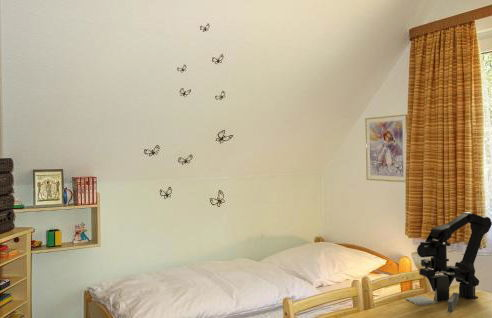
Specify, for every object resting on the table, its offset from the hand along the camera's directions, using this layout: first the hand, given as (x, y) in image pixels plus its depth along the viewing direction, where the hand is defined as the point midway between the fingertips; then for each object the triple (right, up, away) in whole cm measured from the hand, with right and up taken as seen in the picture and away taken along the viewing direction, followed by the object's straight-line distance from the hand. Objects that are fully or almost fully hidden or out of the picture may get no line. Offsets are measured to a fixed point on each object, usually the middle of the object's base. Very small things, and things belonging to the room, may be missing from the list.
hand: (440, 290), depth 191 cm
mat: (-9, -5, -2) cm, 11 cm away
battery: (0, -5, 0) cm, 5 cm away
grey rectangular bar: (+1, -4, -9) cm, 10 cm away
